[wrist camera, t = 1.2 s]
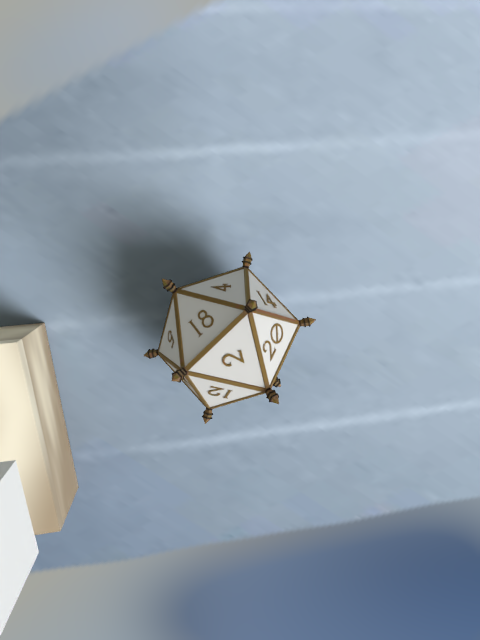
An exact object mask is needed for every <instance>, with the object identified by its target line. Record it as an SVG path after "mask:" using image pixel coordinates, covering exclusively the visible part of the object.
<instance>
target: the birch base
mask: <svg viewBox="0 0 480 640" xmlns="http://www.w3.org/2000/svg"><path fill="white" fill-rule="evenodd" d="M12 460H16V463H17V467H18V471H19V475H20V479H21V483H22V487H23V491H24V495H25V499H26V503H27V507H28V511H29V515H30V519H31V523H32V527H33V531H34V535H38V534H45V533H51V532H58V531H61V528H62V526H63V524H64V521H65V519H66V516H67V514H68V511H69V509H70V506H71V504H72V502H73V499H74V497H75V494H76V492H77V489H78V483H77V478H76V473H75V468H74V463H73V458H72V454H71V449H70V444H69V439H68V434H67V429H66V425H65V420H64V415H63V410H62V405H61V400H60V396H59V391H58V386H57V381H56V376H55V371H54V367H53V362H52V357H51V352H50V347H49V342H48V338H47V333H46V328H45V323H37V324H26V325H16V326H5V327H0V462H4V461H12Z"/></svg>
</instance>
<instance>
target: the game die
mask: <svg viewBox="0 0 480 640" xmlns="http://www.w3.org/2000/svg"><path fill="white" fill-rule="evenodd" d="M243 258H244V259H243V261H242V262H243V266H242V267H241V268H238V269H235V270H232V271H228V272H225V273H222V274H219V275H216V276H213V277H210V278H207V279H204V280H201V281H198V282H194V283H191V284H188V285H185V286H182V287H179V288H176V286H175V283H172V280H165V279H162V282H163V285H164V289H165V288H166V289H167V291H170V292H172V293H173V294H172V298H171V302H170V306H169V309H168V313H167V317H166V321H165V325H164V329H163V332H162V336H161V340H160V344H159V348H158V349H157V350H155V349H152V350H150V349H149V350H148V352H147V353H146V354H145V355H144V356H146V357H148V358H149V359H150V358H152V357H153V358H154V357H156V356H158V355H159V356H160V357H161V358H162V359H163V360H164V362H165V363H166V364H167V365H168V366H169V367H170V368H171V369H172V370H173V371H174V373H172V381H177V382H181V380H182V381H183V382H184V384H185V385H186V386H187V387H188V388H189V389H190V390H191V391H192V392H193V394H194V395H195V396H196V397H197V398H198V399H199V400H200V401H201V402H202V403H203V405H204V406H205V407H206V410H205V411H204V412H203V413H204V415H203V416H202V417H203V419H204V422H205V424H206V423H207V422H208V421H209V420H210V419H212V417H211V416H212V415H213V413H212V409H214V408H217V407H220V406H224V405H227V404H231V403H234V402H237V401H241V400H244V399H247V398H251V397H254V396H257V395H261V394H264V393H266V395H267V397H266V398H268V399H269V402H274V403H277V404H279V401H278V398H279V396H278V394H276V392H275V390H272V389H271V388H272V386H275V387H281V385H280V379H278V377H277V375H278V373H279V371H280V369H281V366H282V364H283V362H284V360H285V358H286V356H287V353H288V351H289V349H290V347H291V345H292V342H293V340H294V338H295V336H296V334H297V332H298V329H299V327H300V326H305V327H306V326H309V327H310V325H311V324H312V323H313V322H314V321H315V319H312V318H309V317H307V318H303V319H302V320H298V319H297V318H296V317H295V316H294V315H293V314H292V313H291V312H290V311H289V310H288V309H287V308H286V307H285V306H284V305H283V304H282V303H281V302H280V301H279V300H278V299H277V298H276V297H275V296H274V295H273V293H272V292H271V291H270V290H269V289H268V288H267V287H266V286H265V285H264V284H263V283H262V282H261V281H260V280H259V279H258V278H257V277H256V276H255V275H254V274H253V273H252V272H251V271H250V270H249V269H248V268H249V266H250V265H251V261H252V258H251V254H250V252H249V253H248V254H247V255H246V256H245V257H243Z"/></svg>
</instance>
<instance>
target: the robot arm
mask: <svg viewBox="0 0 480 640" xmlns="http://www.w3.org/2000/svg"><path fill="white" fill-rule="evenodd" d="M38 553H39V551H38V547H37V543H36V539H35V535H34V531H33V527H32V523H31V519H30V515H29V511H28V507H27V503H26V499H25V495H24V491H23V487H22V483H21V479H20V475H19V471H18V467H17V463H16V460H12V461H4V462H0V635H1V633H2V631H3V629H4V626H5V624H6V622H7V620H8V618H9V616H10V613H11V611H12V609H13V607H14V605H15V603H16V600H17V598H18V596H19V594H20V592H21V589H22V588H23V585H24V583H25V581H26V579H27V577H28V575H29V572H30V570H31V568H32V566H33V564H34V562H35V559H36V557H37V555H38Z"/></svg>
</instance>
